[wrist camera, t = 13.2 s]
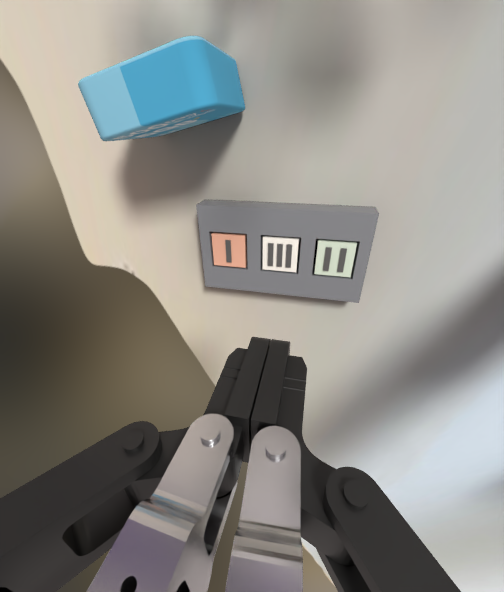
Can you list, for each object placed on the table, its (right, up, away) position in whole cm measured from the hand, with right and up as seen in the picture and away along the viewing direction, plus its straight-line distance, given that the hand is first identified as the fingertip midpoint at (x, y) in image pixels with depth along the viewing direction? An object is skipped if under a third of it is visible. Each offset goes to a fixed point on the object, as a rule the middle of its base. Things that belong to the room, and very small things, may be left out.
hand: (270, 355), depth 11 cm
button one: (-3, +10, +30) cm, 31 cm away
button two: (+10, +9, +27) cm, 30 cm away
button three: (+4, +9, +28) cm, 30 cm away
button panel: (+4, +9, +28) cm, 30 cm away
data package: (-7, +25, +22) cm, 34 cm away
